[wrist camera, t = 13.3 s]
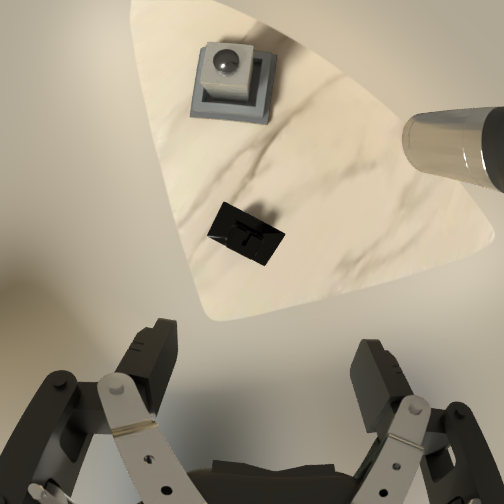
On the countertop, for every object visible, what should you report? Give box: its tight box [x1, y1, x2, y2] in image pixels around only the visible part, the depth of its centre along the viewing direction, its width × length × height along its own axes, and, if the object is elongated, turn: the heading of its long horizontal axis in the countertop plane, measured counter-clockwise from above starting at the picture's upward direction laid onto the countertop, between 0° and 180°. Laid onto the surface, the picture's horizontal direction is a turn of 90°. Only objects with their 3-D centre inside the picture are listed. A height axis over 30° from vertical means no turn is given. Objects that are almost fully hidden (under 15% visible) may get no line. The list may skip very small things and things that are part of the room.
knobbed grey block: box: [200, 42, 254, 103], centre depth 27 cm, size 4×4×11 cm
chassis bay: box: [190, 47, 277, 125], centre depth 32 cm, size 10×10×4 cm
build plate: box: [207, 202, 285, 266], centre depth 39 cm, size 12×7×5 cm, turn 61°
